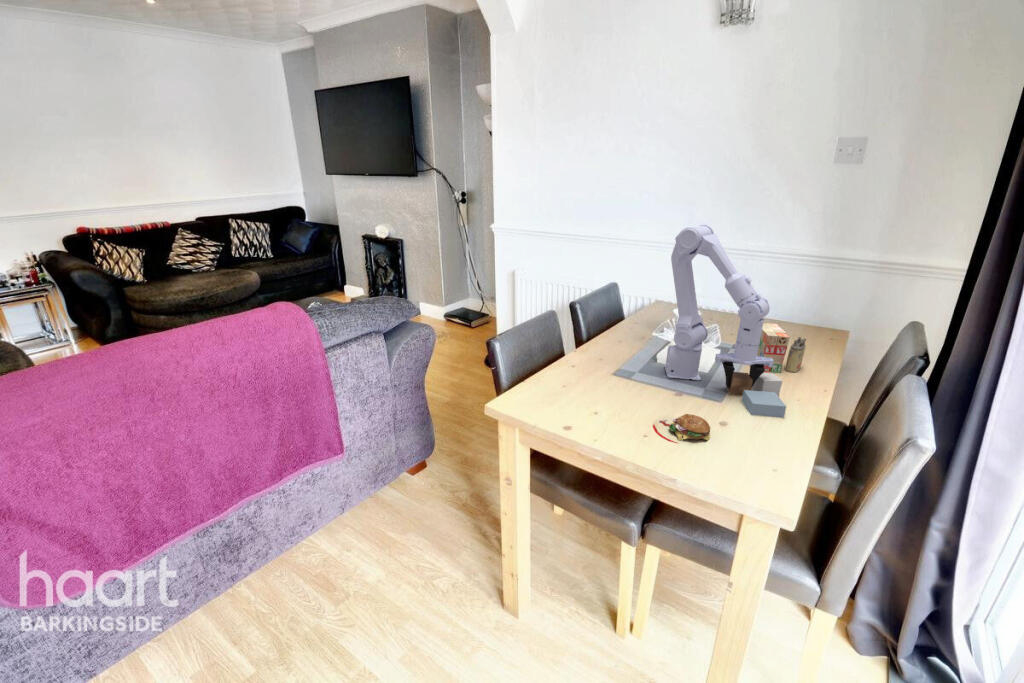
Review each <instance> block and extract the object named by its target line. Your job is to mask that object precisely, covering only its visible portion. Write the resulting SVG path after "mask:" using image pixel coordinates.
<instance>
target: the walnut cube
mask: <svg viewBox="0 0 1024 683" xmlns="http://www.w3.org/2000/svg"><path fill="white" fill-rule="evenodd" d="M752 381H753V380H752V379H751V377H750V376H749V372H740V371H738V372H737V371H734V372H733V375H732V380H731V386H730V388H726V387H727V386H726V385H725V386H726V387H725V388H726V390H727V389H728V390H727V392H728V394H729V395H730V396H738V397H742V395H743V391H744V390H752V389H751V386H752Z"/></svg>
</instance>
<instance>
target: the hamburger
mask: <svg viewBox="0 0 1024 683" xmlns="http://www.w3.org/2000/svg"><path fill="white" fill-rule="evenodd" d="M667 422H668V420H667V419H663V420H659V423H660V424H662V425H663V426H664V427H669V430H670V432H674V433H675V435H676V436H677V438H678V441H682V440H686V439H690V440H698V441H699V440H706V441H707V442H708V441H709V439H710V438H711V433H710V432H711V426H710V424H709V422H707V420H706V419H705V418H702V417H700V416H698V415H695V414H690V413H685V414H683V415H680V416H678V417H676V418H673V419H672V422H671V423H667ZM652 428H653V431H654V432H655V434H657V435H658V436H659V437H661V438H662V439H664V440H666V441H668V442H671V443H674V444H679V442H677V441H674V440H671V439H670V438H668V437H667V436H666V437H665V436H664V435H662V434H661V432H659V431H658V429H657V427H656V425H655V424H653V425H652Z"/></svg>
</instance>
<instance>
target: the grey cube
mask: <svg viewBox="0 0 1024 683" xmlns="http://www.w3.org/2000/svg"><path fill="white" fill-rule="evenodd" d="M782 384H783V380H782V379H781V378H779V377H778V376H777V375H776V374H774V372H764V373H763V374H761V375H760V376H759V378H758V379H757V380H756V382H755V383H754V385H753V387H752V389H751V390H752V391H765V392H775V393H776V394H777V395H778V397H779V396H780V393H781V388H782ZM779 398H780V397H779Z"/></svg>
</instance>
